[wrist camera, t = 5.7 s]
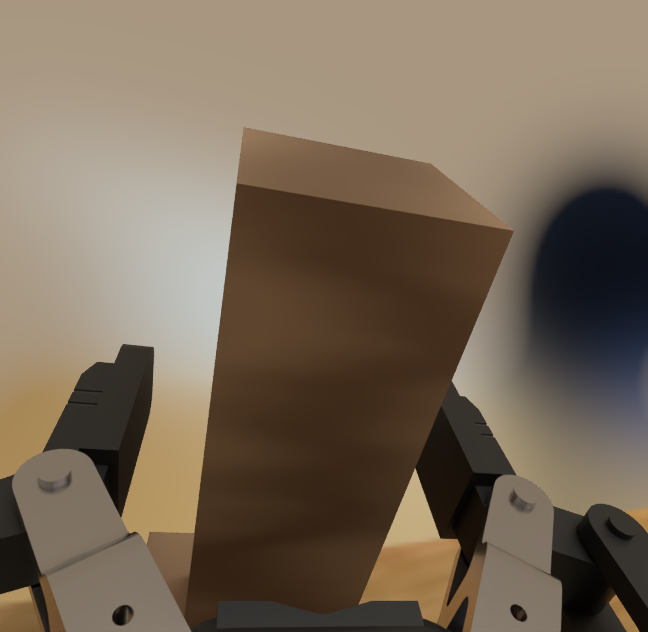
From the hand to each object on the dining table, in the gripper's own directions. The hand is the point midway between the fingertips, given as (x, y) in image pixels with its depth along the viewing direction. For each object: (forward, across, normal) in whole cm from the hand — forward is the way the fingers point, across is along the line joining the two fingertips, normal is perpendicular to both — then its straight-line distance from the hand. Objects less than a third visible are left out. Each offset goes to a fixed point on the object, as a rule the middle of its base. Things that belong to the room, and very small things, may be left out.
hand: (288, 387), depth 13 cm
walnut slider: (-2, 0, +10) cm, 10 cm away
